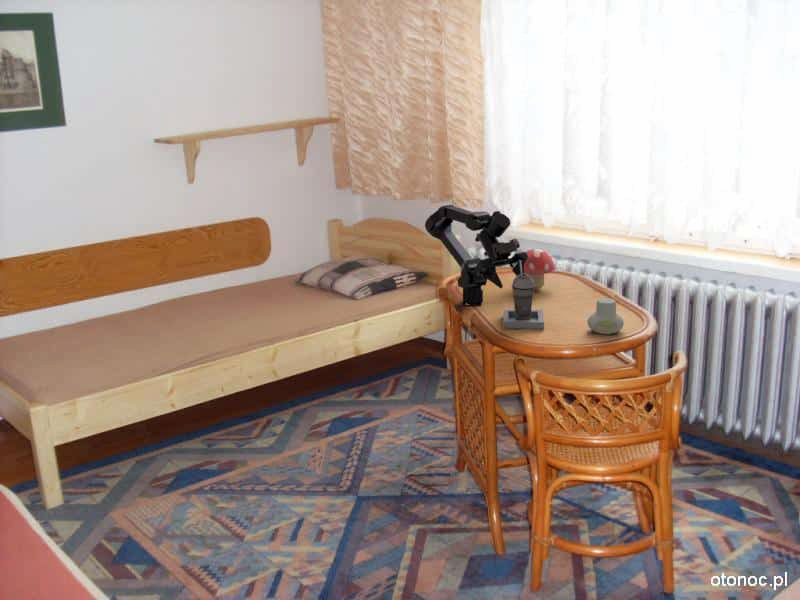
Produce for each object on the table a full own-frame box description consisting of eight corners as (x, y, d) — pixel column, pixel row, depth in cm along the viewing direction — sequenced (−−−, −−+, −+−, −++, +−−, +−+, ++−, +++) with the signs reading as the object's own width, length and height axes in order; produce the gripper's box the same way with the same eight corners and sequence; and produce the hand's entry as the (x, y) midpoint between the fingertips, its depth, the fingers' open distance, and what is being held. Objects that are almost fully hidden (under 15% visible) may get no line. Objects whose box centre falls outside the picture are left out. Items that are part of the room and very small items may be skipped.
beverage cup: (527, 326, 277) (529, 264, 271) (507, 322, 281) (508, 261, 275) (537, 319, 283) (539, 259, 277) (517, 316, 287) (518, 256, 281)
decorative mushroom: (551, 296, 310) (552, 254, 305) (513, 294, 313) (514, 253, 309) (555, 285, 322) (556, 245, 318) (518, 284, 325) (519, 244, 321)
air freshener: (622, 328, 276) (623, 297, 273) (624, 336, 268) (625, 305, 265) (586, 326, 277) (587, 296, 274) (587, 335, 270) (588, 304, 267)
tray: (503, 329, 277) (503, 321, 276) (503, 316, 289) (503, 309, 288) (543, 329, 275) (544, 322, 275) (542, 317, 287) (542, 310, 287)
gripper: (480, 235, 277) (501, 276, 272) (525, 227, 287) (547, 267, 281) (465, 254, 286) (485, 295, 281) (509, 246, 296) (530, 285, 290)
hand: (513, 285), depth 283 cm, fingers open, 9 cm apart
